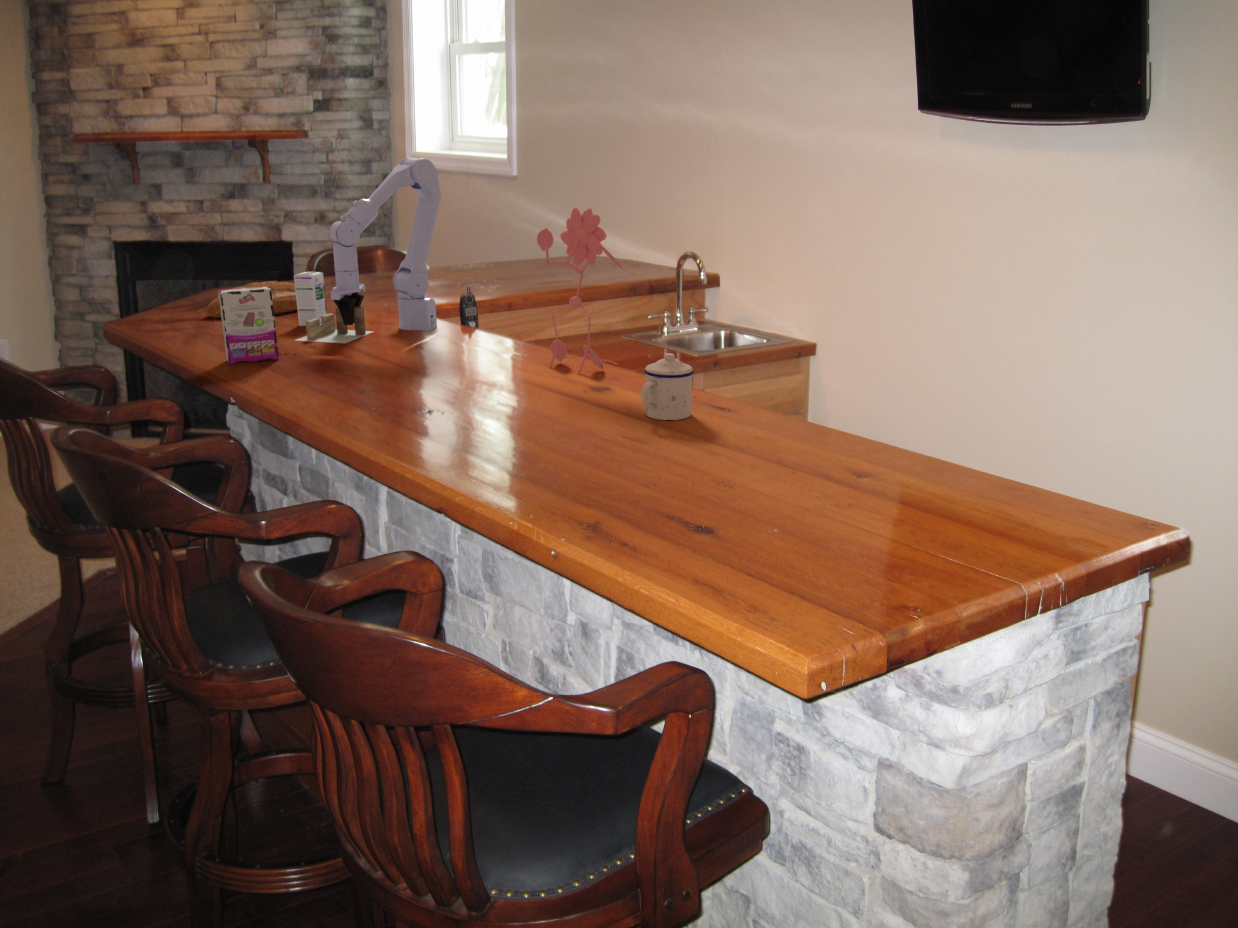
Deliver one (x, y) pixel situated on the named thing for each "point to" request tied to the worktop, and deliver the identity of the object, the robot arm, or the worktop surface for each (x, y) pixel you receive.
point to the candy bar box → (248, 324)
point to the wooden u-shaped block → (320, 326)
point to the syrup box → (310, 296)
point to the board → (336, 337)
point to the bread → (280, 297)
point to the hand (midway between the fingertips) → (350, 324)
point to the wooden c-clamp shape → (358, 321)
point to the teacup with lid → (668, 389)
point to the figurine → (581, 245)
